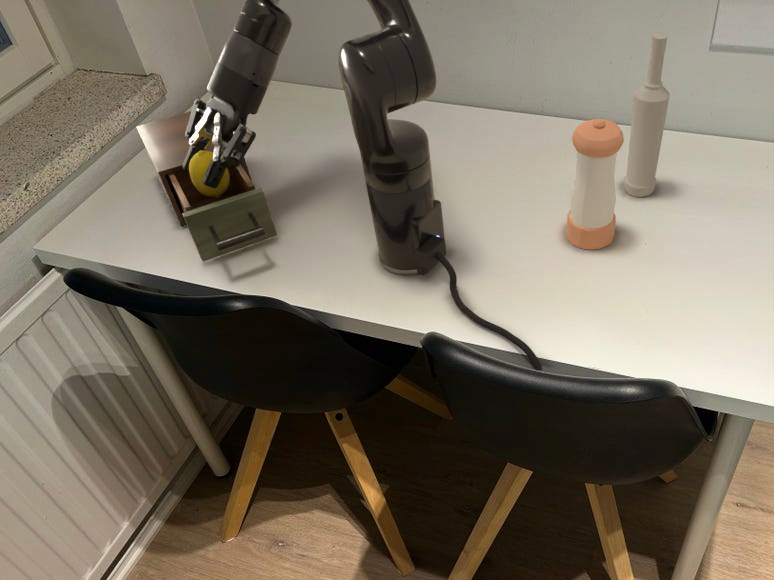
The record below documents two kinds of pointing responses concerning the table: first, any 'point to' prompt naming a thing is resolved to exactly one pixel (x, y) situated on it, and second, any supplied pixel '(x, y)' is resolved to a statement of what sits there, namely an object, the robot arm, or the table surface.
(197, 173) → the lemon
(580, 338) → the table surface
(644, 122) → the bottle
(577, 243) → the pepper shaker
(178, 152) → the cabinet
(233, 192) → the drawer
